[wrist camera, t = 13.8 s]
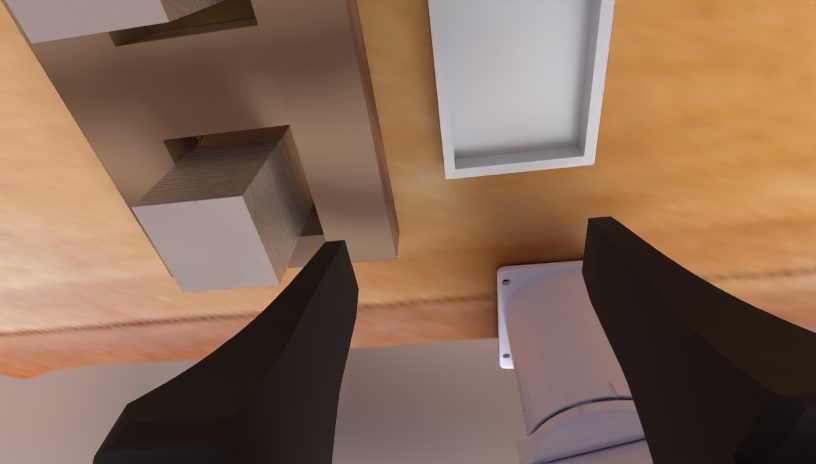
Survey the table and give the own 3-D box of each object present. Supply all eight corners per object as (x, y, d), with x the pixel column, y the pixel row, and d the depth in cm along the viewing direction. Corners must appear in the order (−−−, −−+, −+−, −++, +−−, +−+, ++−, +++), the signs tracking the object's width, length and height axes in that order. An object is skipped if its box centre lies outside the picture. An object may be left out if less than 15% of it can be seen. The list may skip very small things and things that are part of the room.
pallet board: (399, 232, 25) (396, 258, 23) (190, 251, 26) (171, 277, 24) (302, -287, 13) (280, -323, 11) (-61, -202, 15) (-135, -220, 13)
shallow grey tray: (584, 150, 21) (594, 164, 20) (445, 165, 22) (445, 179, 21) (605, -37, 17) (619, -33, 15) (427, -9, 17) (427, -4, 16)
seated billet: (315, 198, 24) (279, 284, 18) (240, 205, 24) (183, 292, 19) (292, 122, 21) (242, 196, 15) (209, 132, 22) (131, 207, 16)
